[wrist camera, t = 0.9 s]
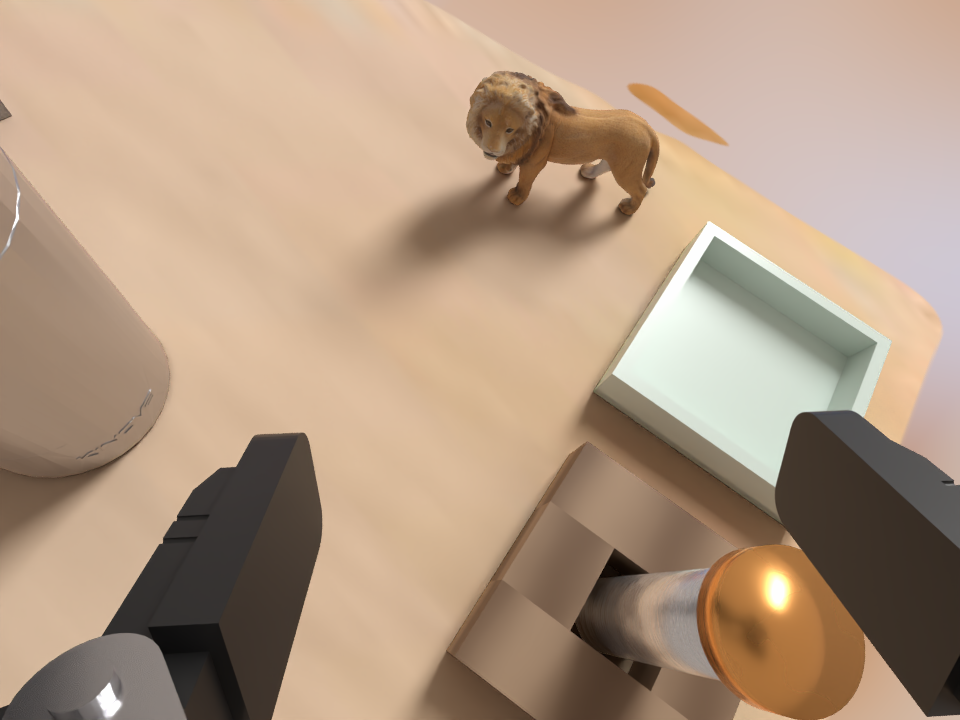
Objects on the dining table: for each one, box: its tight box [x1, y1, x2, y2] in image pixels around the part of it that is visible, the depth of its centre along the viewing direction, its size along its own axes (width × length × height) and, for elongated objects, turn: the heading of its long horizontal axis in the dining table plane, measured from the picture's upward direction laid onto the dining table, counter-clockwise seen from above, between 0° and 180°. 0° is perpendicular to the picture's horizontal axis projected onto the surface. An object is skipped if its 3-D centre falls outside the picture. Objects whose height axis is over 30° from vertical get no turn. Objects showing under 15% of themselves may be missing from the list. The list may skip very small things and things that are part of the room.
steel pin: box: [575, 544, 865, 720], centre depth 23 cm, size 5×5×14 cm
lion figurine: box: [466, 71, 659, 215], centre depth 36 cm, size 15×5×9 cm, turn 100°
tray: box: [593, 221, 892, 525], centre depth 35 cm, size 14×14×3 cm
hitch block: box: [447, 441, 741, 720], centre depth 28 cm, size 12×12×3 cm
